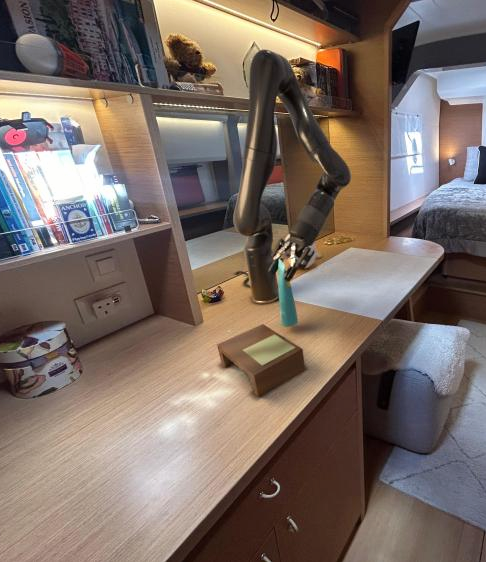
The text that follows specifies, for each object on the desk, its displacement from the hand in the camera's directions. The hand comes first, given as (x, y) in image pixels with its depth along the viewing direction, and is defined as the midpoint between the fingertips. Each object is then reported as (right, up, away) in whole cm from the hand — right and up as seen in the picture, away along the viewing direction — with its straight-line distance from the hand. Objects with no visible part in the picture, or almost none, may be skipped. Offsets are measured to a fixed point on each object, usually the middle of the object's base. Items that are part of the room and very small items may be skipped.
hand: (278, 276), depth 93 cm
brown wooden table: (-2, -23, -8) cm, 24 cm away
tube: (+2, -14, +7) cm, 16 cm away
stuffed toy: (-1, +6, +58) cm, 58 cm away
